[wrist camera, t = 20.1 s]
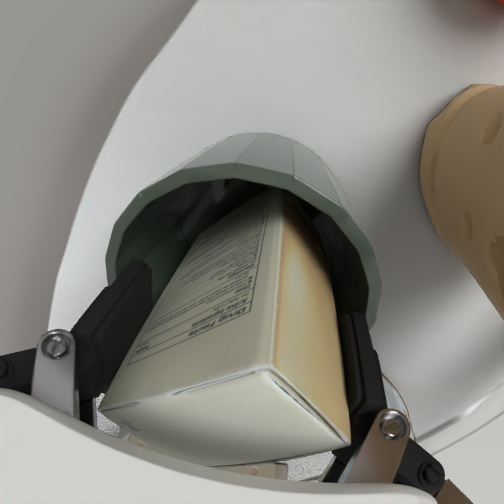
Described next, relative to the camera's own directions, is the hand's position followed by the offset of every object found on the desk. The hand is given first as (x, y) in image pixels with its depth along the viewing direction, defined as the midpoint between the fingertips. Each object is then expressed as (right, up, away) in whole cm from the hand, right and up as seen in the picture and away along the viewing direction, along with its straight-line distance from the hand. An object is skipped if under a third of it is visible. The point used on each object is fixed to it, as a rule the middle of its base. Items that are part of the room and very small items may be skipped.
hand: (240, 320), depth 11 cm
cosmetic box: (+1, +4, +6) cm, 7 cm away
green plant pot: (+1, +5, +8) cm, 9 cm away
